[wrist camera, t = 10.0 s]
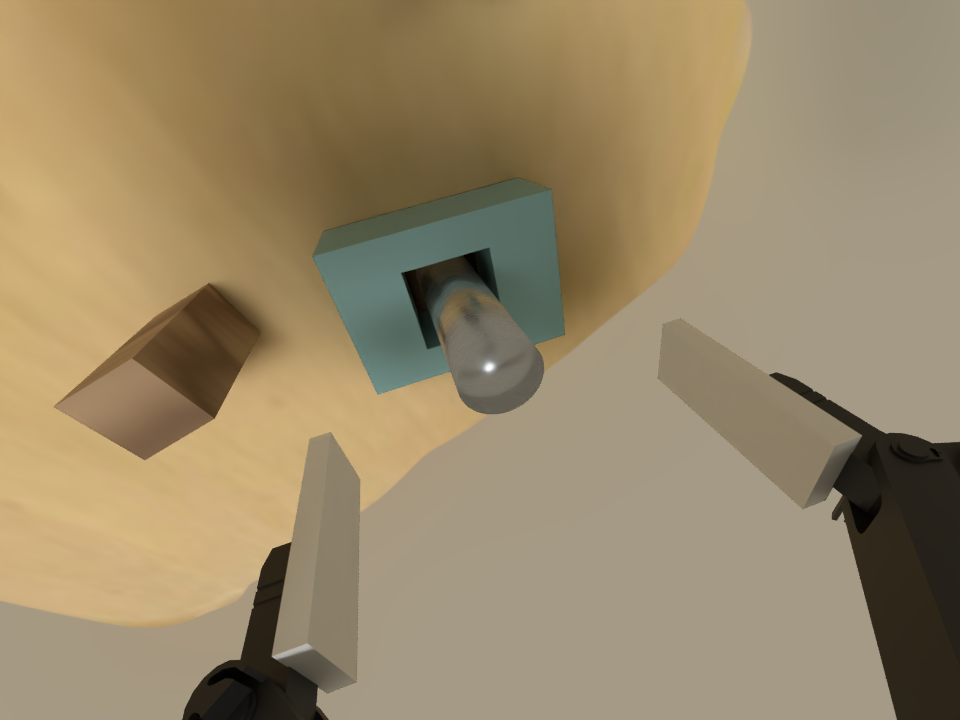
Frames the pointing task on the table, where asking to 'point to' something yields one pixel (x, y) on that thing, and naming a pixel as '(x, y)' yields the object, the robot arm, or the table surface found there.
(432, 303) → the round dowel
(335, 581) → the robot arm
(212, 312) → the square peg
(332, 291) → the socket block
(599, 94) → the table surface
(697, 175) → the table surface
